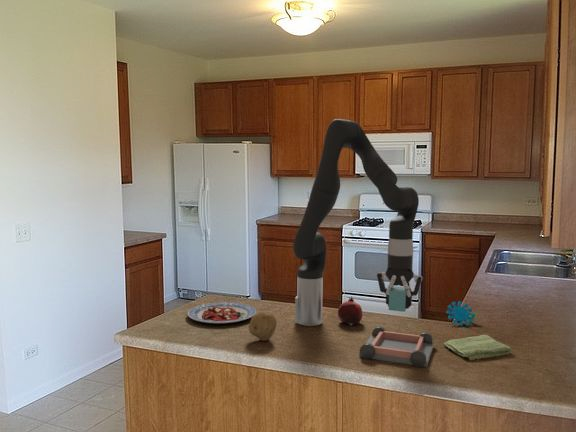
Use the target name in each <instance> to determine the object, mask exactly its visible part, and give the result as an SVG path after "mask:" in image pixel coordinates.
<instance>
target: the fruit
mask: <svg viewBox="0 0 576 432" xmlns="http://www.w3.org/2000/svg"><path fill="white" fill-rule="evenodd" d="M354 300H355V299H354V298H353V296H352V295H351V297H349V298H348V299H347V301H344V302H342V303H341V304H340V306H339V308H338V309H337V316H338V319H339V320H340V321H341V322H343V323H345V324H347V325H349V326H351V327H353V325H357V324H359V323H360V322H361V321H362V319H363V309H362V306H361V305H360V304H359V303H358V302H356V301H354Z"/></svg>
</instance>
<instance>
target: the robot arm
mask: <svg viewBox="0 0 576 432" xmlns="http://www.w3.org/2000/svg"><path fill="white" fill-rule="evenodd" d="M342 149H350V150H352V151H353V152H354V153H356V155H357V156H358V157H359V158H360V160H361V164H362V167H363V171H364V173H365V175H366V177H367V178H368V179H369V180H370V181H371V183H372V184H373V185H374V186H375V187H376V188H377V190H378V193H379V195H380V198H381V199H382V202H383V204H384V205H385V206H386V207H387V209H390V211H393V212H397V214H396V216H395V217H394V218H392V219H391V220H390V221H389V227H388V242H387V263H386V264H387V267H386V271H382V272H381V271H379V272H378V273H377V274H376V278H377V282H378V286H379V291H380V292H381V293H384V294H385V304H386V305H387V307H389V290H390V289H392V288H393V286H394V287H398V286H399V287H404V289H405V290H406V291H407V299H406V310H408V309H409V308H411V307H412V301H413V298H412V297H414V296H415V297H416V296H417V295H418V294H419V292H420V287H421V284H422V281H423V277H424V276H422V275H421V274H420V275H418V274H415V273H414V270H413V264H414V263H413V262H414V261H413V259H414V257H413V256H414V242H413V235H414V234H413V233H414V231H413V229H414V228H413V227H414V222H415V219H416V216H417V212H418V208H419V195H418V192H417V190H416V189H414V188H413V187H411V186H410V187H408V186H407V187H404V186H403V187H400V186H398V185H397V182H398V176H397V175H396V173H395V172H394V170H392V169H391V167H390V166H389V165H388V164H387V162H385V160H384V159H382V157H381V155H379V153H378V151H377V150H376V149H375V147H374V146H373V144H372V142H371V140H369V138H368V136H367V135H366V132H365V131H364V129H363V128H362V127H361V125H360V124H359V123H358V122H357V121H353V120H349V119H343V118H335V119H333V120H332V121H331V122H330V123H329V125H328V126H327V129H326V133H325V136H324V141H323V147H322V151H321V156H320V160H319V164H318V168H317V172H316V175H315V178H314V181H313V185H312V188H311V191H310V195H309V198H308V202H307V205H306V208H305V211H304V214H303V217H302V220H301V223H300V224H299V228H298V229H297V232H296V234H295V237H294V240H293V244H292V247H293V249H292V250H293V253H294V256H295V258H297V259H300V260H304V262H303V263H302V265H300V267H298V268H297V275H296V277H297V278H296V279H297V284H296V287H297V289H296V291H297V292H296V295H297V296H295V299H294V307H295V308H294V311H295V312H294V323H295V324H298V325H301V326H306V327H314V326H319V325H321V324H322V323H323V294H324V293H323V287H324V286H323V284H324V283H323V282H324V281H323V279H324V278H323V277H324V275H323V274H324V271H325V268H326V257H327V242H326V239H325V237H324V235H323V234H322V233H320V232H318V231H319V228H320V226H321V224H322V222H323V221H324V220H325V218H326V217H327V216H328V215H329V214H330V213H331V211H332V210H333V208H334V206H335V204H336V202H337V199H338V196H339V193H340V190H341V178H340V173H339V167H338V166H339V159H340V155H341V152H342ZM386 277H387V279H388V281H389V284H388V286H387V287H386V285H385V284H386V283H385V278H386ZM412 279H414V283H415V285H414V290H412V287H411V284H410V282H411V280H412Z"/></svg>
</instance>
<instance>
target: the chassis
mask: <svg viewBox="0 0 576 432" xmlns="http://www.w3.org/2000/svg"><path fill="white" fill-rule="evenodd" d="M433 341H434V338H433V335H432V334H431V333H430V332H427V331H423V332H421V333H420V334H419V335H418V334H411V333H410V334H409V333H403V332H397V331H396V332H393V331H387V330H386V328H385V327H383V326H380V325H379V326H376V327H374V329H373V330H372V331H371V335H370V336H369V338H368V339H367V341H366V342H365V343H363V344H362V346H361V347H360V349H359V355H358V356H359V358H363V359H365V360H378V361H384V362H390V363H397V364H404V365H410V366H411V365H412V366H414V367H416V368H423V367H425V368H428V366H429V361H430V360H431V359H430V358H431V355H432V353H433V350H434V342H433Z"/></svg>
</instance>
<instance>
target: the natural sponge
mask: <svg viewBox="0 0 576 432" xmlns="http://www.w3.org/2000/svg"><path fill="white" fill-rule="evenodd" d="M277 323H278V322H277V318H276V317H275V315H274V314H273V313H271V312H270V311H266V310H260V311H258V312H256V314H255V315H254V316H252V317H251V319H250V321H249V324H248V331H249V333H250V335H252V336H254V337H256V338H258V339H259V340H260V341H262V342H267V341H268V340H269V339H271V338H272V337H273V336H274V333H275V331H276V328H277Z"/></svg>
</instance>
